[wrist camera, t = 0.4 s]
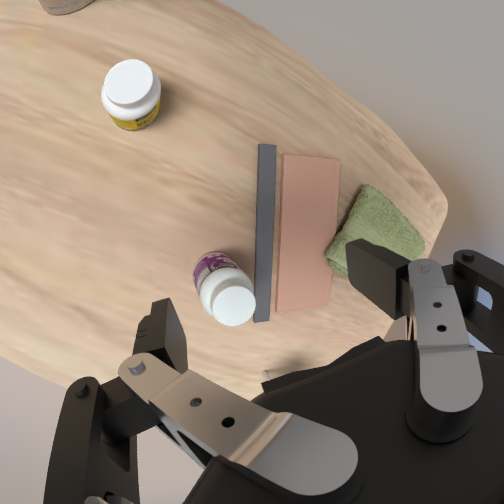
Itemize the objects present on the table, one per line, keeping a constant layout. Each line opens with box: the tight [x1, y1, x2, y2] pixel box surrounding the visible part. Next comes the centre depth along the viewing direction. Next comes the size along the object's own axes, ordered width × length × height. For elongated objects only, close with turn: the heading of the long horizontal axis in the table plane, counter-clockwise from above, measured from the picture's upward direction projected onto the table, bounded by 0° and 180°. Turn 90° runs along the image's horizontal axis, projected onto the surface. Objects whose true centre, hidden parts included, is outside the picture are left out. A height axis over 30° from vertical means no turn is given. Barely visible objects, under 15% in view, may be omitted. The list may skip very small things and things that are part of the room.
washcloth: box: [325, 185, 425, 277], centre depth 39 cm, size 13×18×3 cm
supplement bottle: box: [101, 59, 161, 131], centre depth 22 cm, size 5×5×10 cm
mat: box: [253, 144, 340, 323], centre depth 36 cm, size 22×11×1 cm, turn 178°
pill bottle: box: [193, 252, 256, 326], centre depth 30 cm, size 5×5×10 cm
